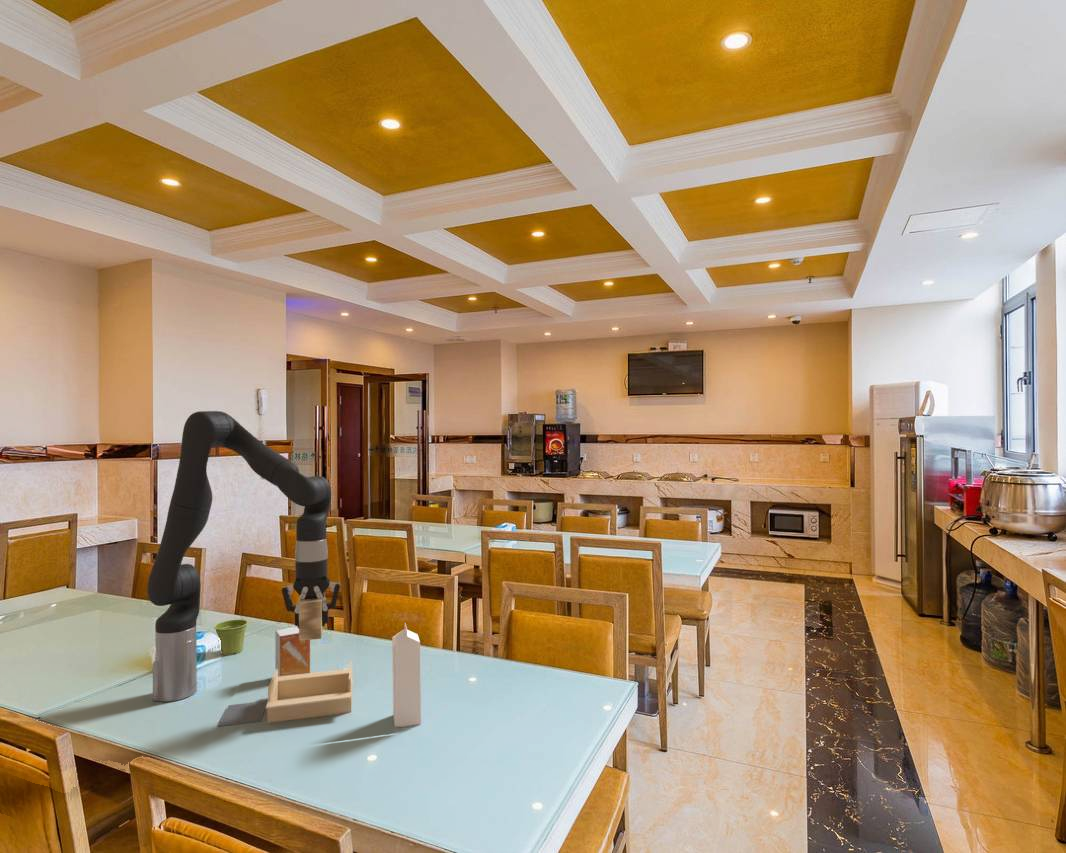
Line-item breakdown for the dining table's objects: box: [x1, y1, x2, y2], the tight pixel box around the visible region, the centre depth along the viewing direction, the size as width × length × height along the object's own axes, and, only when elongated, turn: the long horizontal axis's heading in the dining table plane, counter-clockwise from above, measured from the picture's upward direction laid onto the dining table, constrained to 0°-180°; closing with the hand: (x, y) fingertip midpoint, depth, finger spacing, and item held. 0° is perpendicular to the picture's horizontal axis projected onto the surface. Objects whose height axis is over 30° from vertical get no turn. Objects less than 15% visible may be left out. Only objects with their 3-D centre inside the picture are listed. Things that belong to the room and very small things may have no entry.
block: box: [299, 598, 325, 641], centre depth 149 cm, size 5×8×9 cm, turn 15°
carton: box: [265, 660, 354, 724], centre depth 149 cm, size 19×18×8 cm
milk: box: [391, 623, 422, 728], centre depth 141 cm, size 6×6×22 cm
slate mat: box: [217, 700, 268, 728], centre depth 145 cm, size 9×11×1 cm
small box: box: [274, 626, 311, 677], centre depth 167 cm, size 8×6×13 cm
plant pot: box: [213, 619, 249, 656], centre depth 188 cm, size 9×9×9 cm
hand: (311, 626), depth 149 cm, fingers closed on block, 5 cm apart
